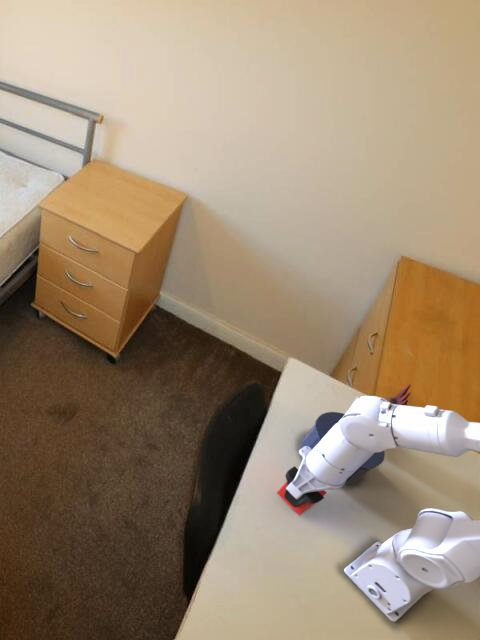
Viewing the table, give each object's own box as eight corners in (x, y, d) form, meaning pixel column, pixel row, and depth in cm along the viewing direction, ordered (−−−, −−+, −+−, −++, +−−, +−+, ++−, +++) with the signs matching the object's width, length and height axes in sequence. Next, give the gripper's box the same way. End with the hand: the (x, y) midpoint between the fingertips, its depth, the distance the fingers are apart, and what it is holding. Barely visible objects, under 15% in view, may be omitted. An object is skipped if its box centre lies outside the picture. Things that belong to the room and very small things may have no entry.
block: (298, 515, 88) (311, 503, 85) (276, 492, 91) (288, 480, 88) (315, 503, 89) (328, 491, 86) (292, 481, 92) (304, 469, 89)
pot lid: (357, 481, 88) (371, 469, 85) (299, 429, 95) (310, 416, 92) (394, 454, 92) (408, 441, 89) (336, 406, 99) (348, 393, 97)
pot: (339, 494, 92) (358, 477, 88) (289, 447, 99) (304, 428, 95) (372, 469, 96) (392, 451, 92) (322, 425, 103) (338, 407, 99)
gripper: (343, 415, 86) (305, 456, 94) (285, 452, 80) (251, 492, 89) (385, 450, 81) (342, 491, 90) (328, 492, 75) (287, 531, 84)
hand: (299, 494), depth 89 cm, fingers closed on block, 4 cm apart
